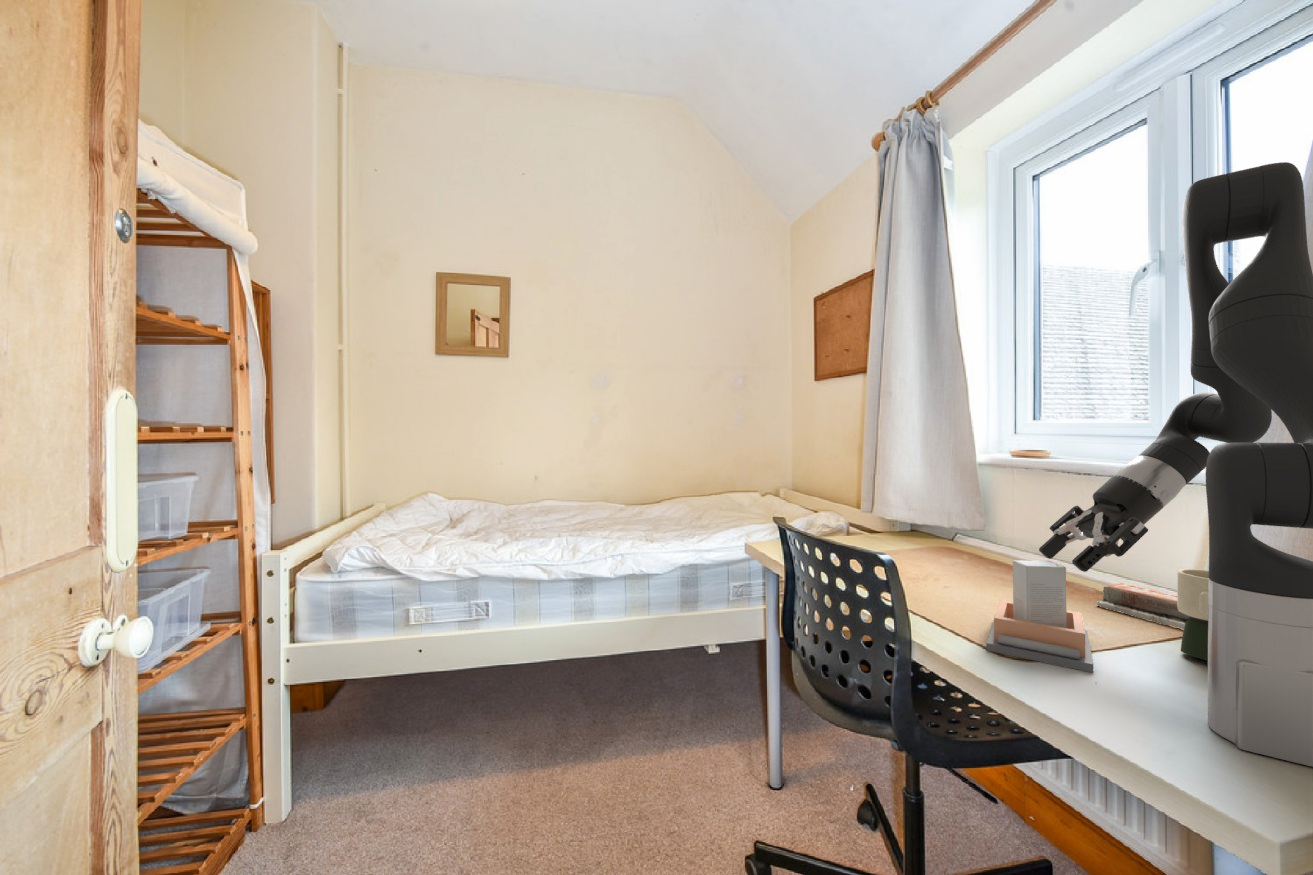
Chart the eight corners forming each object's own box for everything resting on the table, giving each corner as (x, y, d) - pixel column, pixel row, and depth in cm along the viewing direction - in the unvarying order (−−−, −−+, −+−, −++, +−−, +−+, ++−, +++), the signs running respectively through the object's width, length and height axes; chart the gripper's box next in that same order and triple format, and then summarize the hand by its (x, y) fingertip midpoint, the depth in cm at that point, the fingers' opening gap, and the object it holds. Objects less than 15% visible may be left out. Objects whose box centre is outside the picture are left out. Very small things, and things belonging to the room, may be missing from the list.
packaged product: (1094, 584, 105) (1126, 579, 108) (1094, 608, 105) (1126, 603, 108) (1214, 613, 88) (1249, 606, 91) (1214, 642, 88) (1249, 634, 91)
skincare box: (1050, 631, 88) (1050, 560, 88) (1067, 642, 84) (1067, 566, 84) (1011, 630, 88) (1011, 559, 88) (1026, 640, 84) (1026, 565, 84)
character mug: (1240, 679, 73) (1241, 586, 73) (1169, 662, 79) (1170, 575, 79) (1249, 658, 80) (1249, 573, 80) (1183, 644, 86) (1184, 564, 86)
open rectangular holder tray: (1093, 672, 76) (1093, 640, 76) (986, 650, 83) (986, 620, 83) (1087, 637, 88) (1087, 609, 88) (995, 621, 96) (995, 595, 96)
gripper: (1088, 471, 91) (1017, 535, 93) (1156, 477, 77) (1071, 553, 79) (1122, 502, 91) (1050, 566, 92) (1196, 514, 77) (1110, 590, 78)
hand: (1059, 560), depth 85 cm, fingers open, 8 cm apart
